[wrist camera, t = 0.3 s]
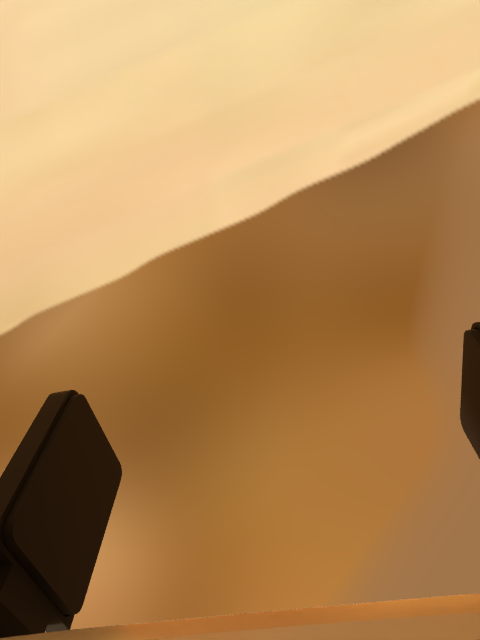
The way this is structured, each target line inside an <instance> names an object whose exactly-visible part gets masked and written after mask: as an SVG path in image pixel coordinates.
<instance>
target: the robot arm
mask: <svg viewBox="0 0 480 640" xmlns="http://www.w3.org/2000/svg"><path fill="white" fill-rule="evenodd" d="M463 343H464V344H463V365H462V386H461V408H460V419H461V424H462V427H463V430H464V432H465V434H466V435H467V437H468V439H469V441H470V442H471V444H472V446H473V448H474V450H475V451H476V453H477V455H478V457H479V459H480V322H476V323H474V324H473V325H472V327H471V330H467V331H465V333H464V342H463ZM121 476H122V469H121V465H120V462H119V460H118V459H117V457H116V455H115V453H114V451H113V449H112V447H111V445H110V443H109V442H108V440H107V438H106V436H105V434H104V432H103V430H102V428H101V426H100V424H99V423H98V421H97V419H96V417H95V415H94V413H93V411H92V409H91V408H90V406H89V403H88V402H87V400H86V398H85V396H84V395H82V394H78V393H77V392H76V391H75V390H69V391H63V392H57V393H52V394H50V395H49V396H48V398H47V399H46V401H45V403H44V404H43V406H42V408H41V409H40V411H39V413H38V414H37V416H36V418H35V420H34V421H33V423H32V425H31V426H30V428H29V430H28V432H27V433H26V435H25V437H24V438H23V440H22V442H21V443H20V445H19V447H18V448H17V450H16V452H15V454H14V455H13V457H12V459H11V460H10V462H9V464H8V466H7V467H6V469H5V471H4V472H3V474H2V476H1V478H0V640H480V593H478V594H463V595H451V596H440V597H428V598H417V599H404V600H392V601H381V602H369V603H358V604H345V605H335V606H323V607H311V608H300V609H289V610H278V611H266V612H257V613H256V612H255V613H244V614H233V615H222V616H212V617H202V618H189V619H179V620H169V621H158V622H147V623H137V624H127V625H116V626H106V627H95V628H85V629H75V630H70V627H71V624H72V621H73V618H74V615H75V614H77V613H78V612H79V611H80V610H81V608H82V605H83V602H84V599H85V596H86V593H87V589H88V586H89V583H90V579H91V576H92V573H93V570H94V566H95V563H96V560H97V556H98V553H99V550H100V547H101V543H102V540H103V537H104V533H105V530H106V527H107V523H108V520H109V517H110V514H111V510H112V507H113V504H114V500H115V497H116V494H117V491H118V487H119V484H120V480H121ZM45 631H46V632H47V633H45Z"/></svg>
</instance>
